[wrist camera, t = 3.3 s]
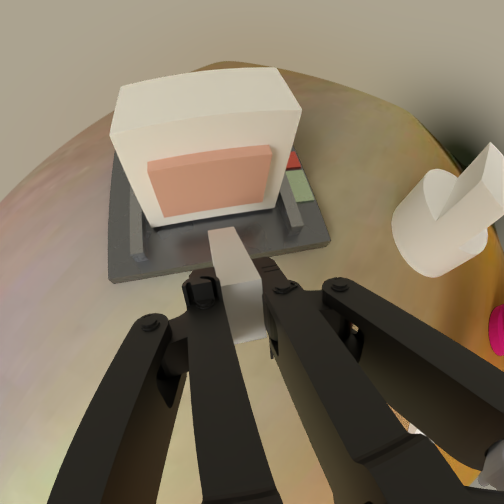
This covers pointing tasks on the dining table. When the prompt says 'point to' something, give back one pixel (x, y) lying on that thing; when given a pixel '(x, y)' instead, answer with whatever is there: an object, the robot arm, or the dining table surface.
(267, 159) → the white block
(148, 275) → the track
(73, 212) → the dining table surface
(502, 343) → the pepper mill
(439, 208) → the base with upright slab
